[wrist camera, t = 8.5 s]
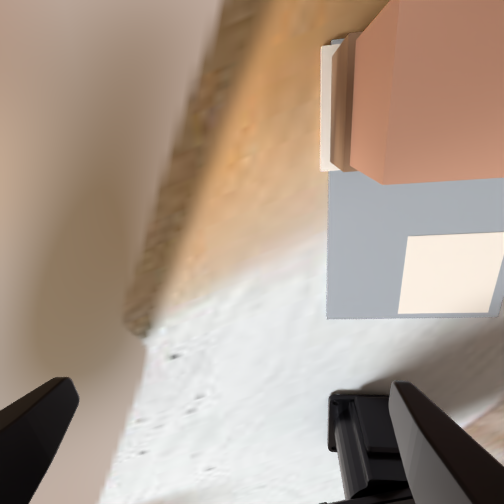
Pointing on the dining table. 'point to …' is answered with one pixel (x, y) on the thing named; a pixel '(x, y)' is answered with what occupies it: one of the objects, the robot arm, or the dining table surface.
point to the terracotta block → (430, 92)
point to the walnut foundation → (342, 102)
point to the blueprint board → (409, 240)
